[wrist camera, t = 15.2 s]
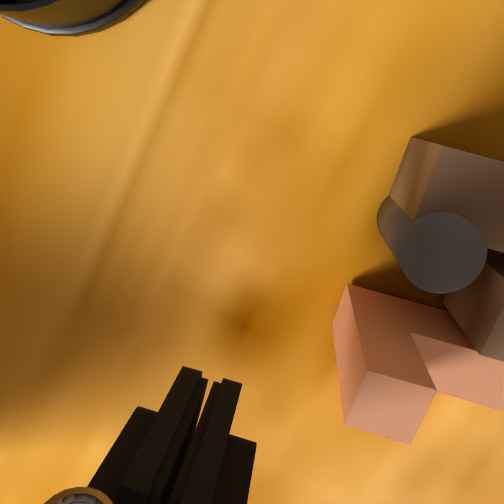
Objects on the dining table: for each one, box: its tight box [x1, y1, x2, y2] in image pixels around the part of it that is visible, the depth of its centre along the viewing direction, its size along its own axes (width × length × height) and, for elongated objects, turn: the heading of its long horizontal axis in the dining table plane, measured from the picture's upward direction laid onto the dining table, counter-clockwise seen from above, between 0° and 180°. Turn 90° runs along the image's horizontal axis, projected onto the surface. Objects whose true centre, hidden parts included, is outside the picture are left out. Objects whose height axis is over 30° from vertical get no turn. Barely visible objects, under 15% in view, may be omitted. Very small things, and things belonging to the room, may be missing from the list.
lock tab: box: [332, 284, 504, 444], centre depth 15 cm, size 2×7×6 cm, turn 76°
